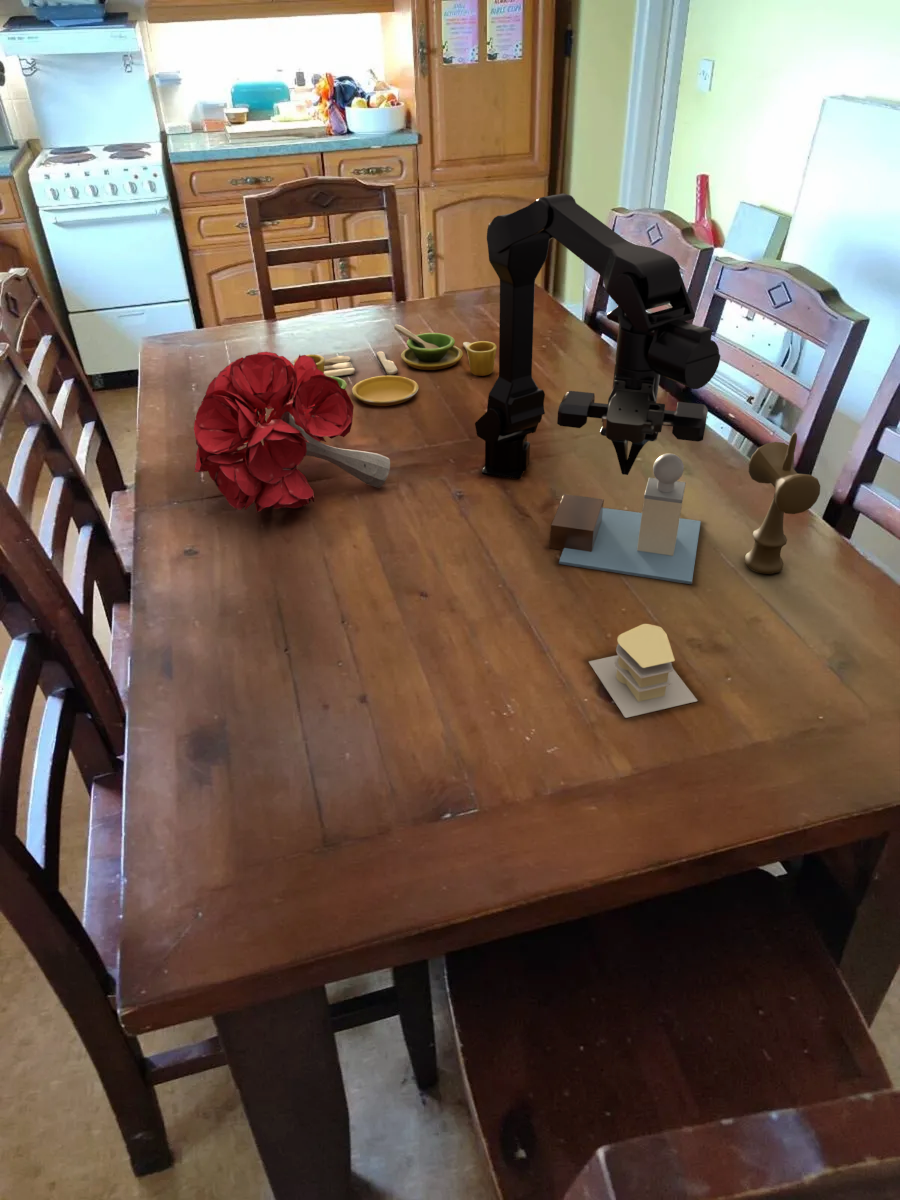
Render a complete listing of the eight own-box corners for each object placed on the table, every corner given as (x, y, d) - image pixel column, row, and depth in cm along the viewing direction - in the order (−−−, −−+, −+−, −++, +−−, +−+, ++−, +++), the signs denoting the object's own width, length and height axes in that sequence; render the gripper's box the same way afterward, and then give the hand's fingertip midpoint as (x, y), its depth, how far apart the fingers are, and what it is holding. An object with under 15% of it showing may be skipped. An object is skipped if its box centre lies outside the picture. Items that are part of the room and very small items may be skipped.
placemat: (558, 564, 119) (559, 561, 119) (579, 507, 131) (579, 504, 131) (691, 584, 114) (692, 581, 114) (700, 523, 127) (700, 520, 126)
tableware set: (474, 344, 187) (474, 315, 183) (512, 394, 166) (513, 362, 162) (285, 364, 180) (281, 335, 176) (299, 419, 158) (294, 387, 154)
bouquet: (343, 490, 150) (172, 432, 136) (405, 374, 139) (225, 298, 125) (362, 565, 134) (170, 508, 120) (433, 441, 123) (230, 362, 109)
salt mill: (603, 485, 116) (674, 459, 111) (609, 468, 120) (678, 442, 114) (644, 564, 121) (714, 543, 116) (648, 545, 125) (716, 524, 120)
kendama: (770, 545, 122) (802, 414, 110) (798, 585, 114) (836, 448, 102) (729, 548, 121) (756, 417, 109) (754, 588, 113) (787, 451, 101)
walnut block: (549, 548, 122) (550, 524, 120) (561, 516, 129) (563, 493, 126) (591, 554, 121) (593, 530, 118) (601, 522, 127) (604, 499, 125)
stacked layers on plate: (697, 701, 97) (705, 664, 93) (625, 718, 95) (630, 681, 91) (656, 647, 104) (661, 611, 101) (588, 661, 102) (591, 625, 99)
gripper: (551, 379, 103) (545, 492, 113) (710, 395, 99) (690, 512, 108) (569, 347, 112) (562, 455, 121) (716, 360, 107) (697, 471, 117)
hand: (625, 473), depth 117 cm, fingers closed
